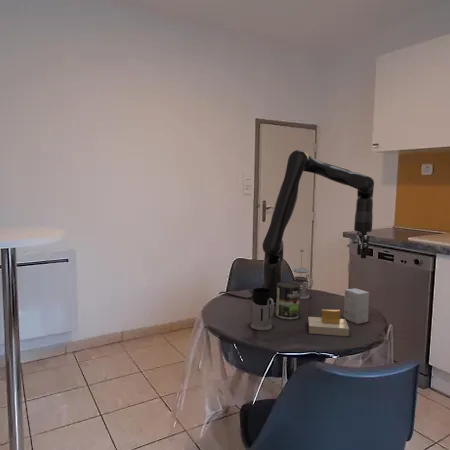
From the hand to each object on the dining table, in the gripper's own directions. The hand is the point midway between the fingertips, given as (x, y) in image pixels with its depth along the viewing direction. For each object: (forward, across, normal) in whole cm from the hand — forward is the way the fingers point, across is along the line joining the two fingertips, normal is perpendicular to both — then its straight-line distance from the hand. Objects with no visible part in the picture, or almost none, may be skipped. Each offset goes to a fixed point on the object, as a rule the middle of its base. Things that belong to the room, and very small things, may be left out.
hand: (361, 256), depth 171 cm
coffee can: (+27, +10, -32) cm, 43 cm away
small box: (+26, +11, -3) cm, 29 cm away
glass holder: (+27, +28, -41) cm, 57 cm away
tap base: (+26, +24, -16) cm, 39 cm away
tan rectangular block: (+23, +25, -15) cm, 37 cm away
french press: (+27, -22, -24) cm, 42 cm away
